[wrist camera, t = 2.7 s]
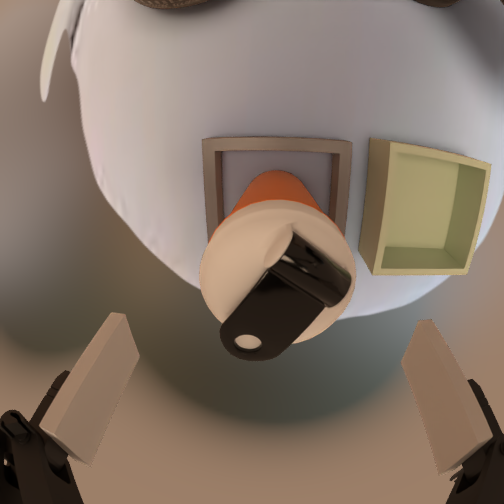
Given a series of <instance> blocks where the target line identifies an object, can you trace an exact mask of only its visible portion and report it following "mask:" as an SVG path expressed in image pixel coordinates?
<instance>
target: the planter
mask: <svg viewBox="0 0 504 504" xmlns="http://www.w3.org/2000/svg"><path fill="white" fill-rule="evenodd" d="M134 1H136V2H138V3H140V4H142V5H144V6H147V7H151V8H159V9H172V8H181V7H187V6H192V5H196V4H200V3H203V2H206V1H208V0H134Z"/></svg>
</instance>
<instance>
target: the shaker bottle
mask: <svg viewBox="0 0 504 504" xmlns="http://www.w3.org/2000/svg"><path fill="white" fill-rule="evenodd" d="M199 281H200V286H201V292H202V294H203V297H204V299H205V301H206V304H207V305H208V307H209V308H210V310H211V311H212V313H213V314H214V316H215V317H216V318H217V319H218V320H219V321H220V322H222V325H221V328H220V338H221V341H222V343H223V345H224V347H225V348H226V349H227V351H228V352H229V353H230V354H232V355H233V356H235V357H237V358H239V359H243V360H248V361H264V360H270V359H273V358H275V357H277V356H278V355H280V354H281V353H282V352H283V351H284V350H285V349H286V348H288V347H289V346H290V345H291V344H294V343H298V342H302V341H304V340H308V339H310V338H312V337H314V336H316V335H318V334H320V333H321V332H323V331H324V330H325V329H327V328H328V327H329V326H330V325H332V323H333V322H335V321H336V319H337V318H338V317H339V316H340V315H341V314H342V313H343V312H344V310H345V308H346V307H347V305H348V303H349V302H350V300H351V297H352V294H353V291H354V288H355V281H356V269H355V261H354V259H353V256H352V253H351V250H350V248H349V246H348V244H347V242H346V240H345V237H344V235H343V234H342V232H341V231H340V229H339V228H338V226H337V225H336V224H335V223H334V222H333V221H332V220H331V219H330V218H329V217H328V216H327V215H326V214H324V213H323V212H322V210H321V209H320V207H319V206H318V204H317V203H316V202H315V200H314V199H313V197H312V196H311V195H310V193H309V192H308V190H307V189H306V188H305V186H304V185H303V184H302V182H301V181H300V180H299V179H298V178H297V177H296V176H294V175H292V174H291V173H288V172H285V171H280V170H273V171H268V172H264V173H262V174H260V175H259V176H257V177H256V178H255V179H254V180H253V181H252V182H251V183H250V185H249V186H248V188H247V189H246V191H245V192H244V194H243V195H242V197H241V198H240V200H239V201H238V203H237V204H236V206H235V207H234V209H233V211H232V212H231V214H230V215H229V216H228V217H226V218H225V219H224V220H223V221H222V223H221V224H220V225H219V226H218V227H217V228H216V229H215V231H214V233H213V235H212V237H211V239H210V240H209V243H208V246H207V248H206V250H205V252H204V254H203V257H202V261H201V265H200V275H199Z"/></svg>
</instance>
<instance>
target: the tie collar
mask: <svg viewBox="0 0 504 504" xmlns="http://www.w3.org/2000/svg"><path fill="white" fill-rule="evenodd" d="M231 150H280V151H308V152H326V153H333V154H332V174H331V190H330V204H329V216H328V217H329V218H330V219H331V220H332V221H333V222H334V223H335V224H336V225H337V226H338V228H339V229H340V231H341V232H342V234H343V235H345V227H346V218H347V209H348V198H349V187H350V174H351V158H352V142H348V141H345V140H335V139H321V138H304V137H269V136H248V137H214V138H206V139H202V153H203V174H204V191H205V207H206V222H207V235H208V243H209V240H210V239H211V237H212V235H213V233H214V231H215V229H216V228H217V227H218V226H219V225H220V224H221V223H222V221H223V220H224V211H223V188H222V161H221V151H231Z"/></svg>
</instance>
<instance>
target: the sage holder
mask: <svg viewBox="0 0 504 504" xmlns="http://www.w3.org/2000/svg"><path fill="white" fill-rule="evenodd" d="M490 171H491V164H489V163H486V162H483V161H480V160H477V159H474V158H471V157H467V156H464V155H460V154H456V153H452V152H448V151H443V150H439V149H434V148H429V147H424V146H419V145H414V144H408V143H402V142H396V141H390V140H383V139H375V138H370V142H369V159H368V173H367V184H366V194H365V203H364V212H363V220H362V227H361V235H360V241H359V248H358V251H359V253H360V255H361V256H362V258H363V260H364V261H365V263H366V265H367V267H368V269H369V270H370V272H371V274H372V275H465V274H467V272H468V269H469V266H470V263H471V259H472V257H473V253H474V250H475V246H476V242H477V239H478V235H479V231H480V227H481V222H482V218H483V213H484V208H485V203H486V198H487V192H488V186H489V179H490Z"/></svg>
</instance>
